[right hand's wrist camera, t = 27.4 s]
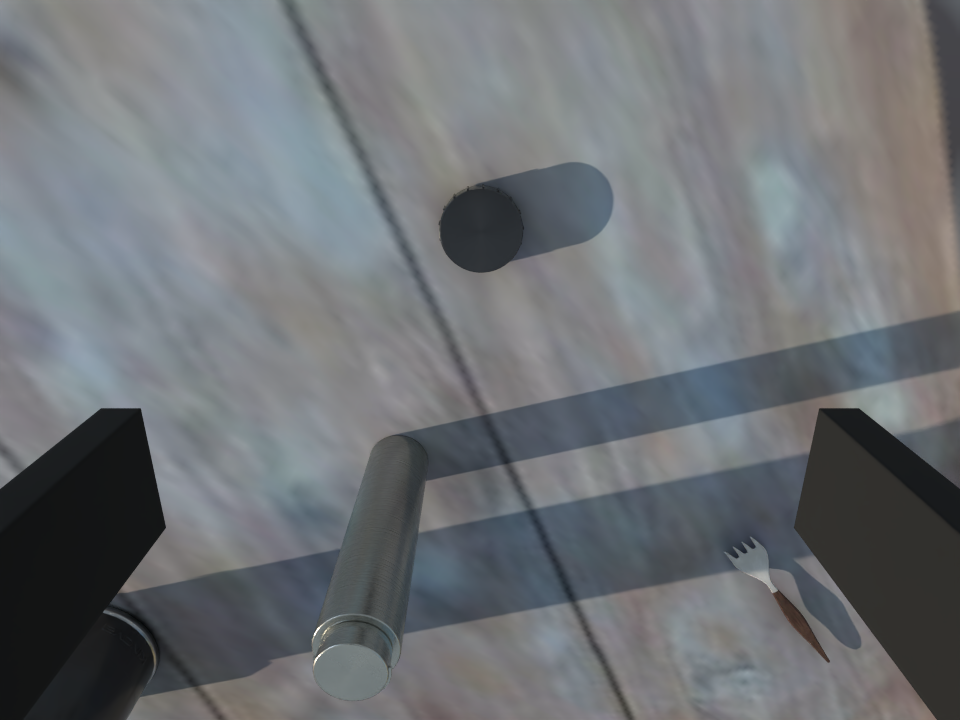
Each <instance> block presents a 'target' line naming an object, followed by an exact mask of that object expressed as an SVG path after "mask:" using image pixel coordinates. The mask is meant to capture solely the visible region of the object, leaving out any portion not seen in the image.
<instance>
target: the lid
mask: <svg viewBox="0 0 960 720" xmlns="http://www.w3.org/2000/svg"><path fill="white" fill-rule="evenodd" d="M443 210H444V212H443V214H442V217H441V220H440V221H439V225H440V227H439V234H440V241H441V244H442V247H443V249H444V251H445V252H446V254H447V256H448V257H449V258H450V259H451V260H452V261H453V262H454V263H455V264H457V265H458V266H460V267H461V268H463V269H466V270H468V271H472V272H490V271H494V270H497V269H499V268H501V267H503V266H504V265H506V264H507V263H508V262H509V261H510V260H511V259H512V258H513V257H514V256H515V254H516V253H517V251H518V249H519V247H520V245H521V241H522V236H523V229H524V227H523V225H522V220H521V216H520V214H521V212H520V210H518V209H517V207H516V205H515V203H514V202H513V201H512V197H509V196H508V195H506V194H505V193H504V192H502V191H500V190H499V188H497V189H496V188H494V187H490V186H484V184H482V186H472V187H469V186H468V187H467V188H466V189H464V190H462V191H460V192H459V193H457V194H454V195H453V198H452V199H451V200H450V201H449V202H448V204H447V205H446V206H444V209H443Z"/></svg>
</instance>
